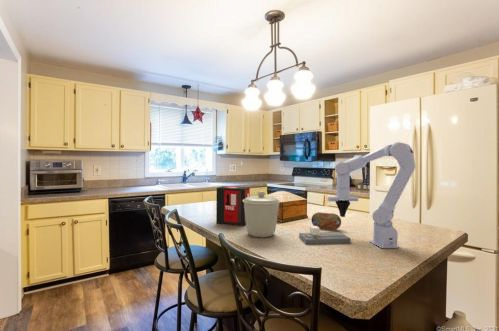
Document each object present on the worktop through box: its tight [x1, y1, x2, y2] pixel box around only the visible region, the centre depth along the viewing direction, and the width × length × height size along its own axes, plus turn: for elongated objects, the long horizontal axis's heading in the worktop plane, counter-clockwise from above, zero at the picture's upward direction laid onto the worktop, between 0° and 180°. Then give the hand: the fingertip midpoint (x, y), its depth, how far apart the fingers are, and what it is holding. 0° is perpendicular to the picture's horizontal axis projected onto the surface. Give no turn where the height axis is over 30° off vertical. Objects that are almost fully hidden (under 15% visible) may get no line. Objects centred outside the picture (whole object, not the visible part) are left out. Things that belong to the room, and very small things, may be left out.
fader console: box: [298, 231, 352, 245], centre depth 120 cm, size 10×20×3 cm, turn 97°
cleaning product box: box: [215, 185, 251, 227], centre depth 150 cm, size 16×9×20 cm, turn 73°
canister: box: [242, 190, 281, 238], centre depth 128 cm, size 18×18×21 cm
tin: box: [310, 212, 342, 231], centre depth 140 cm, size 15×3×8 cm, turn 62°
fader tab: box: [309, 225, 321, 235], centre depth 120 cm, size 4×3×4 cm
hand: (342, 216), depth 126 cm, fingers closed
